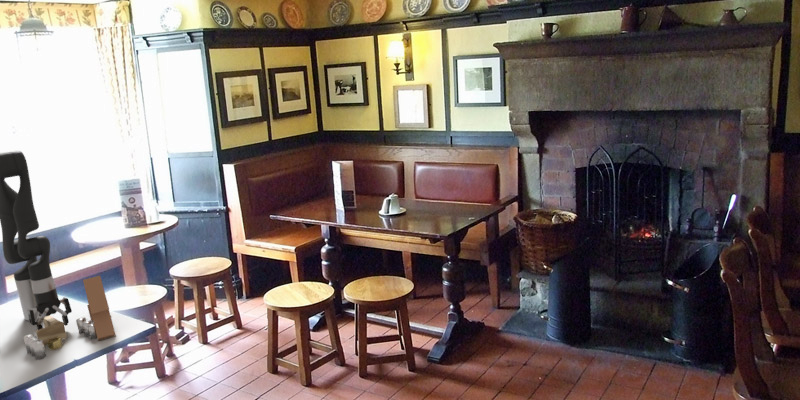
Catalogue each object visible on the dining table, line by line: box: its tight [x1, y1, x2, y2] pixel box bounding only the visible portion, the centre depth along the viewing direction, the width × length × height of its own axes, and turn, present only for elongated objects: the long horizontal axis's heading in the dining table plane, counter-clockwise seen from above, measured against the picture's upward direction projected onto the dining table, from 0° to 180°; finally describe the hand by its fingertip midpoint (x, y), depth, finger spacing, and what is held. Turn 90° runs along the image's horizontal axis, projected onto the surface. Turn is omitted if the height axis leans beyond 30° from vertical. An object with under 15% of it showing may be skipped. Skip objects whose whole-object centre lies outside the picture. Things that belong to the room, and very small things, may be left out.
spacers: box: [23, 316, 98, 361], centre depth 236 cm, size 14×22×6 cm, turn 137°
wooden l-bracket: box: [35, 315, 68, 347], centre depth 244 cm, size 14×9×6 cm, turn 47°
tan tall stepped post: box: [82, 275, 117, 341], centre depth 248 cm, size 7×23×25 cm
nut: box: [47, 337, 64, 351], centre depth 234 cm, size 4×5×3 cm
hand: (54, 329), depth 246 cm, fingers open, 8 cm apart
